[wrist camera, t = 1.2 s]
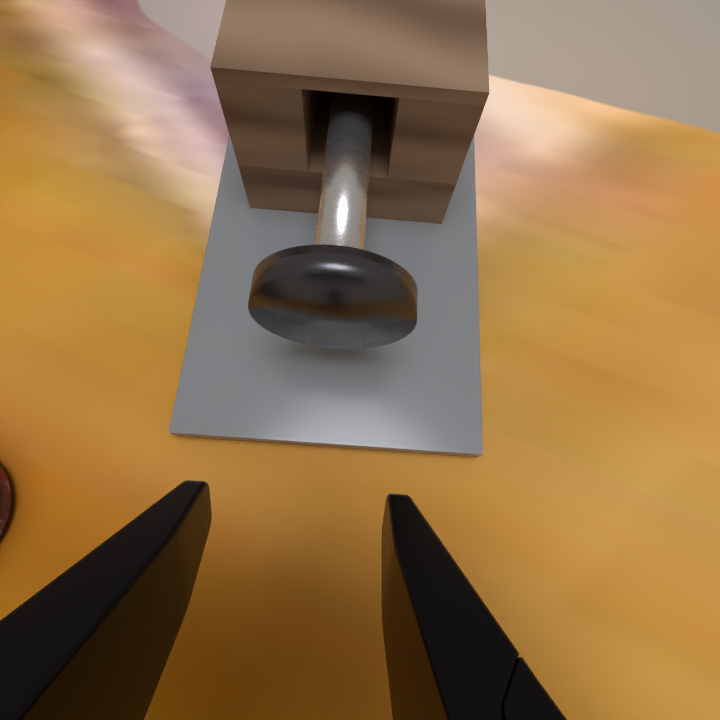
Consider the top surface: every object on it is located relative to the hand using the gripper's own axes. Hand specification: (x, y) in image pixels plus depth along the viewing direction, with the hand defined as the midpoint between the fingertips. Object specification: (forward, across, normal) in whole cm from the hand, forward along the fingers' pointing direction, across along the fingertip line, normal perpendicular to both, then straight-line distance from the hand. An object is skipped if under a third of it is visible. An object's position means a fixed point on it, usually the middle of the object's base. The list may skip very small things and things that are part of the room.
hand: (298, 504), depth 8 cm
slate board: (+20, 0, -1) cm, 20 cm away
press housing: (+24, 0, -6) cm, 25 cm away
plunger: (+16, 0, -2) cm, 16 cm away
